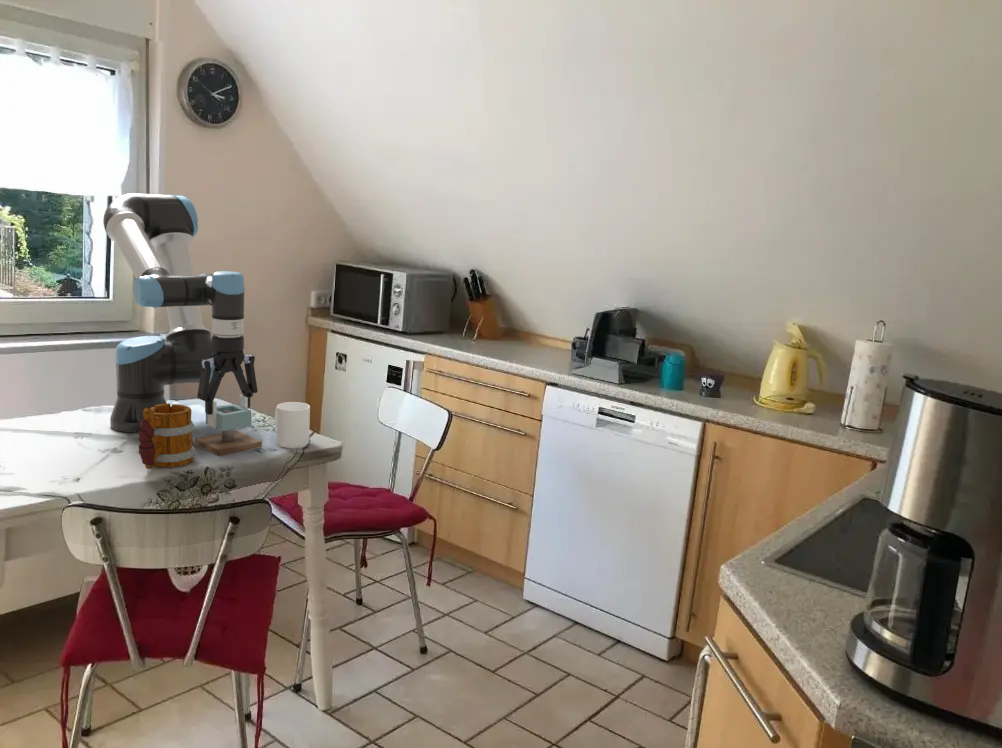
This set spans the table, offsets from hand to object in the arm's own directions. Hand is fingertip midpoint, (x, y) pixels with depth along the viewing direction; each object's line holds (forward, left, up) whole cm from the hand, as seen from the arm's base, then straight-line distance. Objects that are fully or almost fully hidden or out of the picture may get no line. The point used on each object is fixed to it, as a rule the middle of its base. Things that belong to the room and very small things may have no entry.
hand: (228, 423), depth 215 cm
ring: (0, 0, 0) cm, 0 cm away
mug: (+4, -19, -6) cm, 20 cm away
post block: (0, 0, -6) cm, 6 cm away
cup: (+6, +14, -6) cm, 16 cm away
